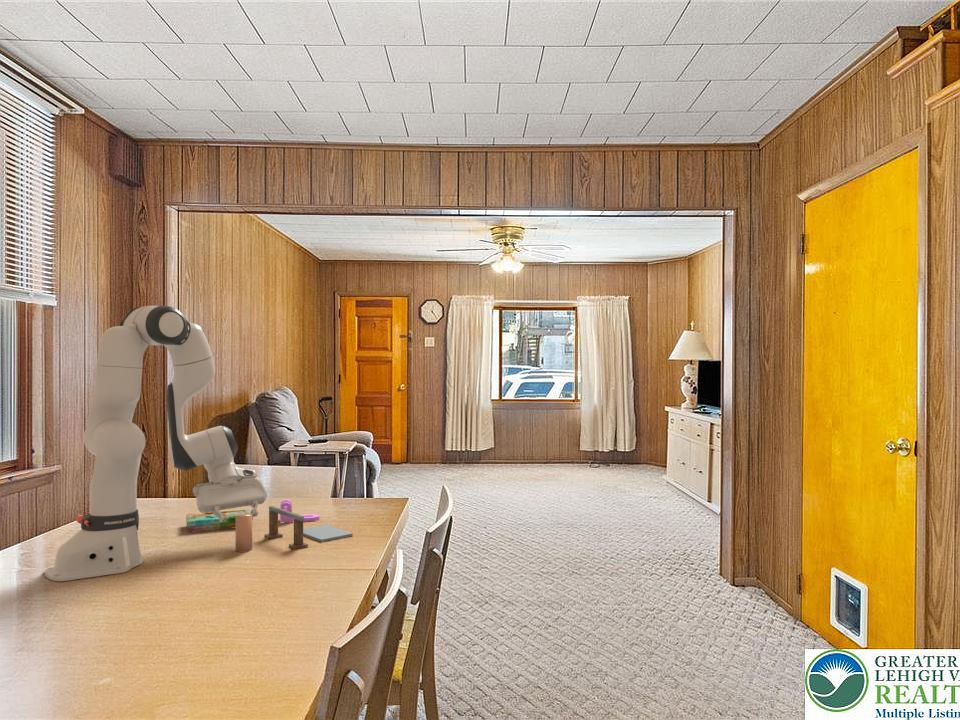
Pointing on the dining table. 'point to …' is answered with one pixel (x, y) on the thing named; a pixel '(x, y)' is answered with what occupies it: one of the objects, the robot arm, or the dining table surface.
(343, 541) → the dining table surface
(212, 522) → the puzzle game
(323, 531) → the pad
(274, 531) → the hurdle posts
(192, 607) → the dining table surface
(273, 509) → the metal bar
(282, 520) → the bracket
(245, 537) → the terracotta cylinder
